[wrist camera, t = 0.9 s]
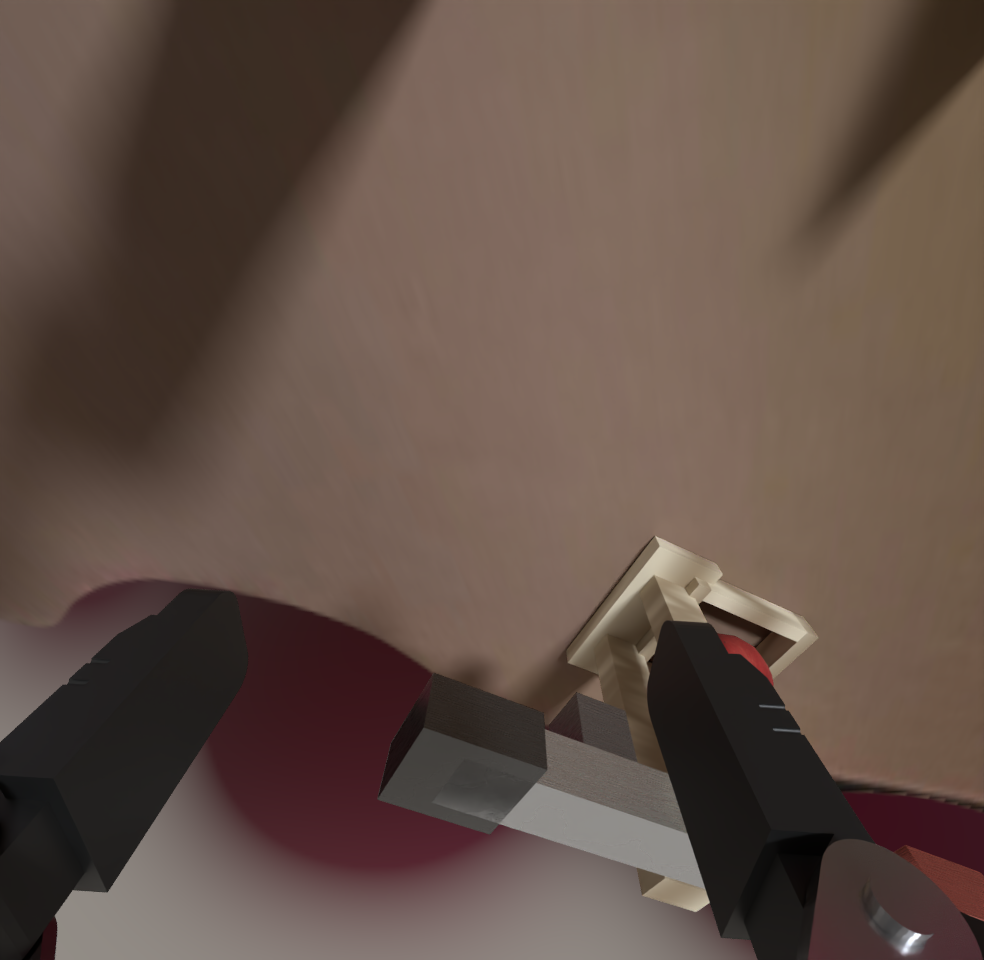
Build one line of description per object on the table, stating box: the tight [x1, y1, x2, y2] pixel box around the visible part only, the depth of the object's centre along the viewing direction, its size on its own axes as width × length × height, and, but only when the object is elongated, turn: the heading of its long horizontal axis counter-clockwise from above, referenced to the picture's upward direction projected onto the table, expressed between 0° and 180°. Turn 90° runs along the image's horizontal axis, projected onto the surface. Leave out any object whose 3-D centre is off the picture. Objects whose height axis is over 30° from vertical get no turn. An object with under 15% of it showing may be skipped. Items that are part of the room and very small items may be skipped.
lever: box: [378, 673, 984, 921], centre depth 23 cm, size 30×5×5 cm, turn 64°
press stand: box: [566, 536, 819, 912], centre depth 28 cm, size 14×12×16 cm
